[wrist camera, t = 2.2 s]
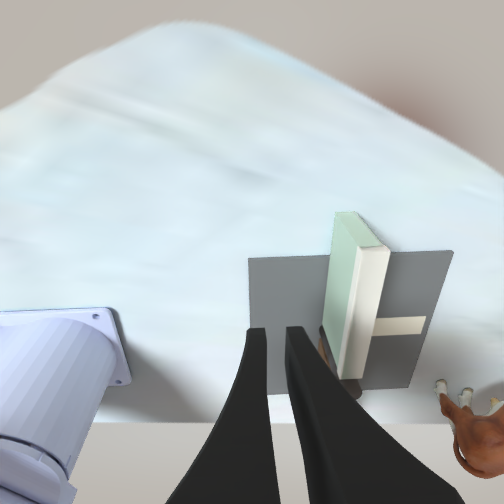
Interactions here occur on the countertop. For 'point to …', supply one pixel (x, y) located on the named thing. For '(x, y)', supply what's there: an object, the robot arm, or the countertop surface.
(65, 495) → the robot arm
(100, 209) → the countertop surface
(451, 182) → the countertop surface
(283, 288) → the board
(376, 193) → the countertop surface
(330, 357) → the fence section
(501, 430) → the bull figurine
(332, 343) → the fence gate
